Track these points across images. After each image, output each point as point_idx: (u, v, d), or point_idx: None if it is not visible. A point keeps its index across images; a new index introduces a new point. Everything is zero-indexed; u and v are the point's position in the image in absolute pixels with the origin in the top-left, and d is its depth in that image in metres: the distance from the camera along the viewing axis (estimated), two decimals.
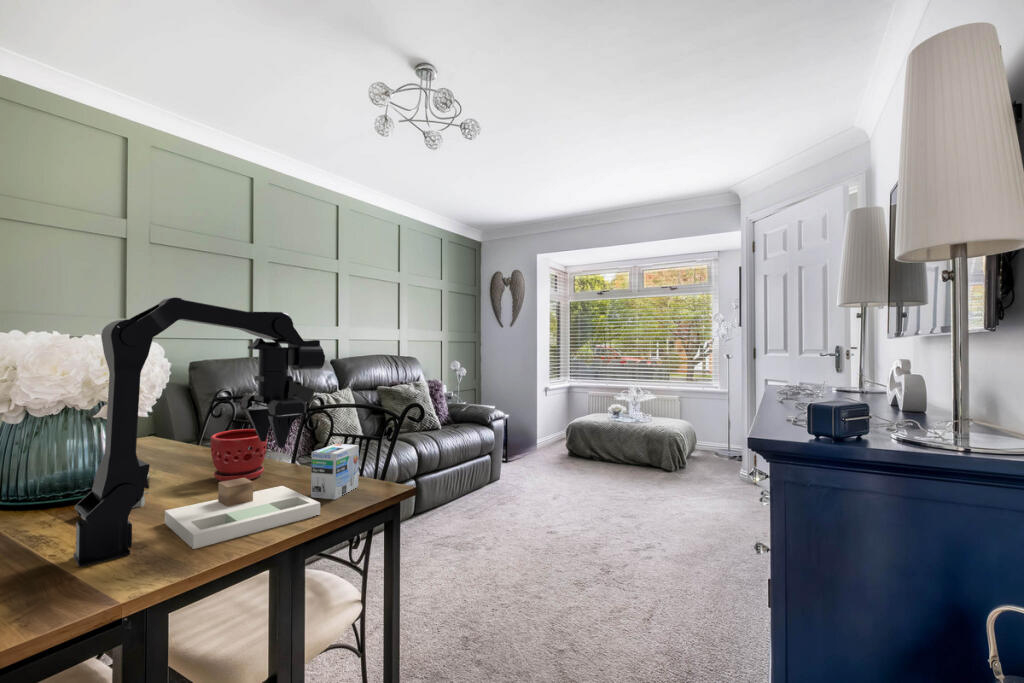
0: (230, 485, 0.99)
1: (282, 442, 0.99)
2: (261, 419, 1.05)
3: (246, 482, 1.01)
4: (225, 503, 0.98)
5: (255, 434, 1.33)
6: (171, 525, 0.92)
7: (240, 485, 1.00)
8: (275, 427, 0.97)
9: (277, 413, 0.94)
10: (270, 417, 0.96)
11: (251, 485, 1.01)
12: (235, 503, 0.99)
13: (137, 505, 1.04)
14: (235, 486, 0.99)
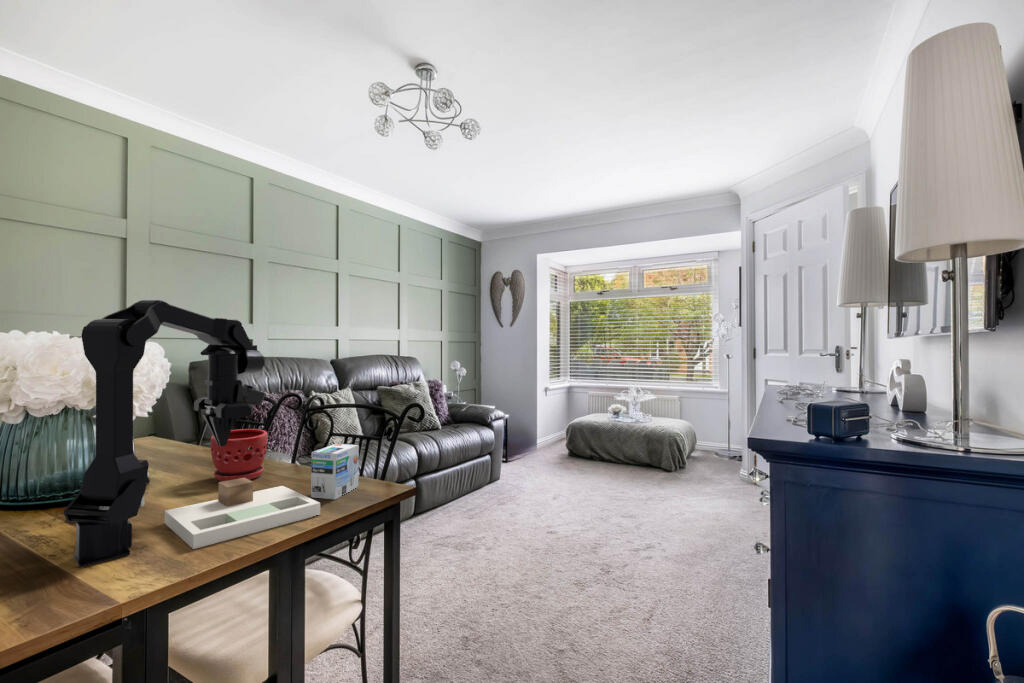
0: (230, 485, 0.99)
1: (224, 441, 1.06)
2: None
3: (246, 482, 1.01)
4: (225, 503, 0.98)
5: (255, 434, 1.33)
6: (171, 525, 0.92)
7: (240, 485, 1.00)
8: (216, 427, 1.04)
9: (223, 416, 0.99)
10: (211, 418, 1.03)
11: (251, 485, 1.01)
12: (235, 503, 0.99)
13: None
14: (235, 486, 0.99)
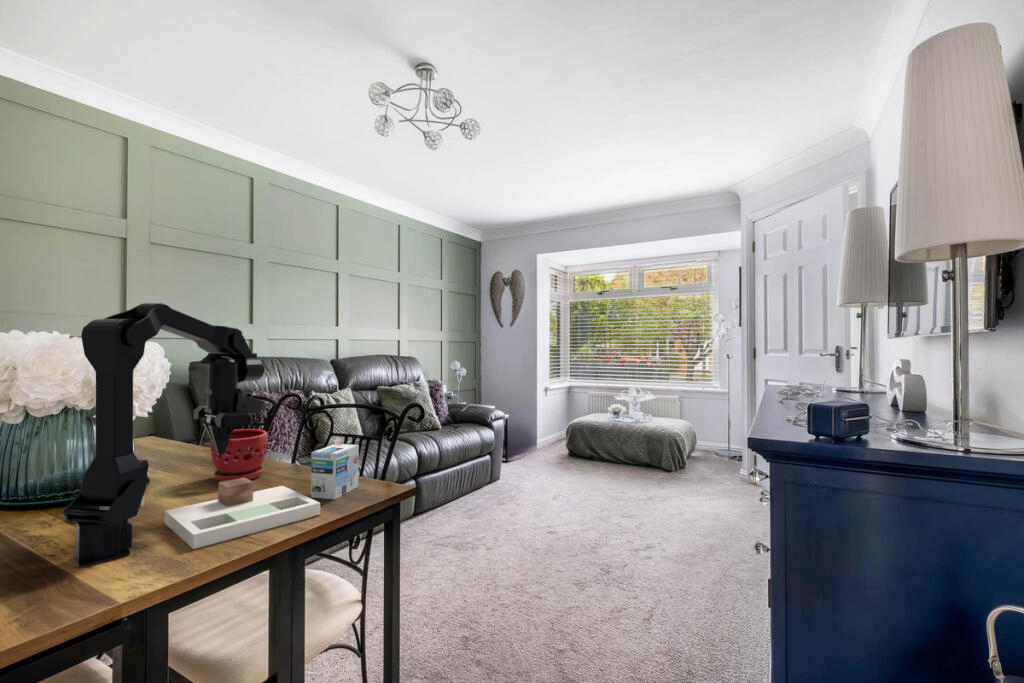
0: (230, 485, 0.99)
1: (223, 449, 1.06)
2: None
3: (246, 482, 1.01)
4: (225, 503, 0.98)
5: (255, 434, 1.33)
6: (171, 525, 0.92)
7: (240, 485, 1.00)
8: (215, 435, 1.04)
9: (223, 425, 0.99)
10: (210, 426, 1.03)
11: (251, 485, 1.01)
12: (235, 503, 0.99)
13: None
14: (235, 486, 0.99)
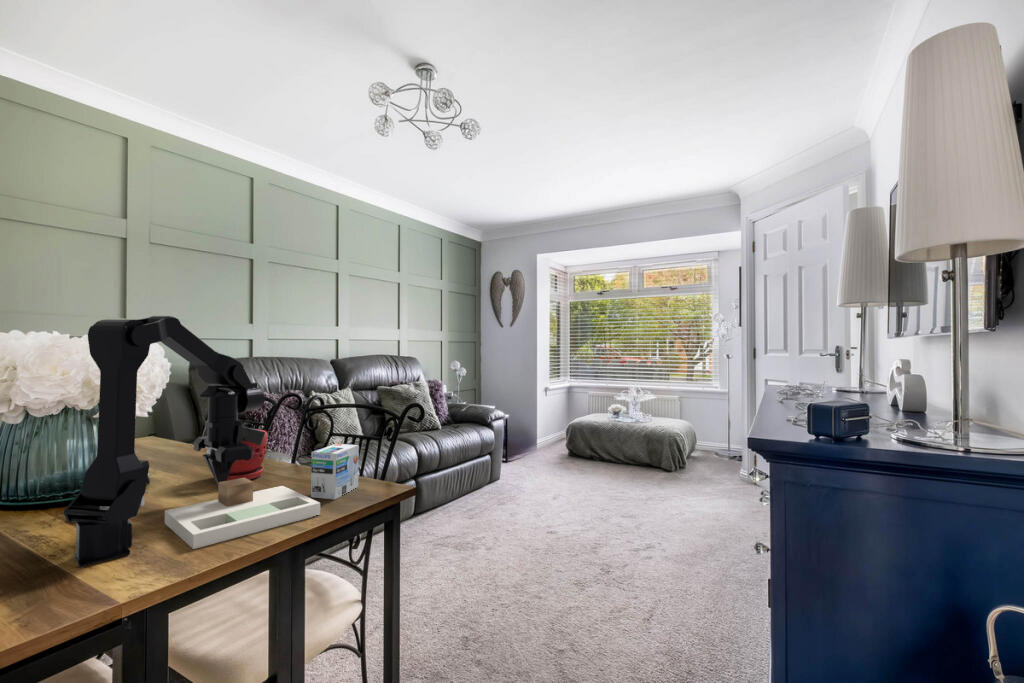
0: (230, 485, 0.99)
1: None
2: None
3: (246, 482, 1.01)
4: (225, 503, 0.98)
5: None
6: (171, 525, 0.92)
7: (240, 485, 1.00)
8: (215, 469, 1.04)
9: (223, 460, 0.98)
10: (210, 460, 1.03)
11: (251, 485, 1.01)
12: (235, 503, 0.99)
13: None
14: (235, 486, 0.99)
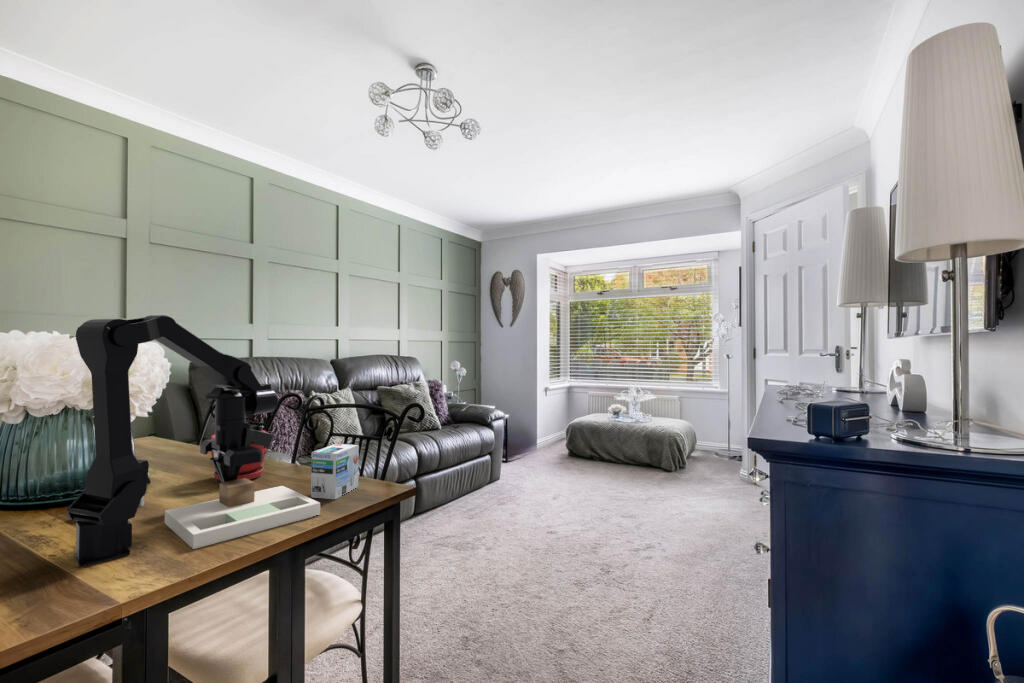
0: (231, 486, 0.98)
1: None
2: None
3: (247, 483, 1.01)
4: (226, 504, 0.98)
5: None
6: (171, 525, 0.92)
7: (241, 486, 0.99)
8: (223, 472, 1.01)
9: (232, 464, 0.95)
10: (218, 463, 1.00)
11: (252, 486, 1.01)
12: (236, 504, 0.98)
13: None
14: (236, 487, 0.98)
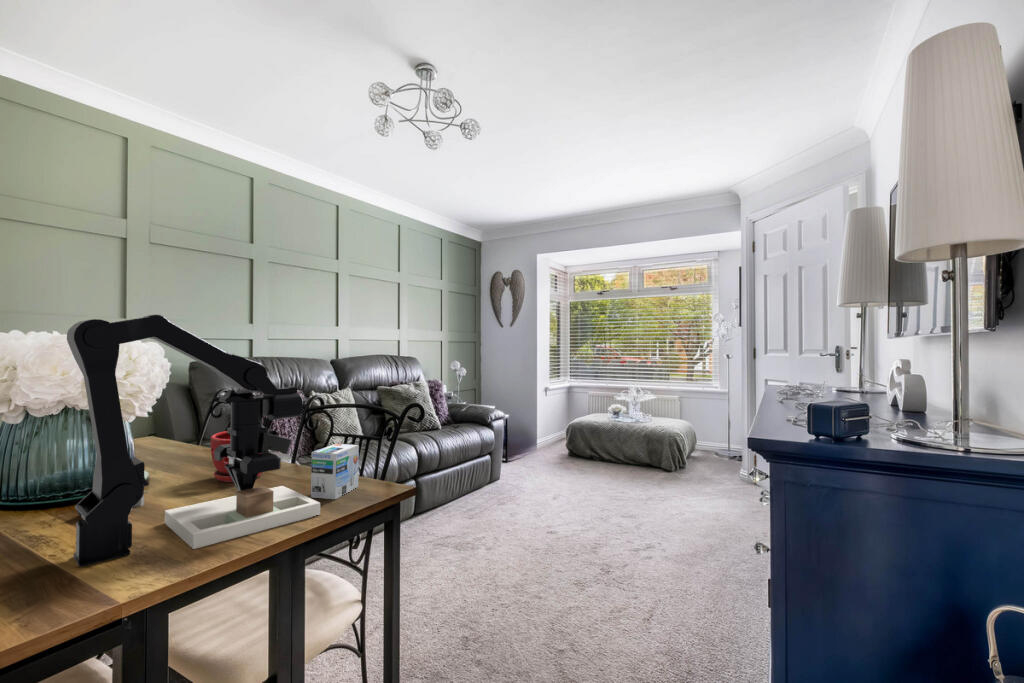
0: (249, 495, 0.93)
1: None
2: None
3: (266, 491, 0.95)
4: (244, 514, 0.92)
5: None
6: (171, 525, 0.92)
7: (260, 494, 0.93)
8: (239, 480, 0.95)
9: (249, 472, 0.90)
10: (233, 471, 0.94)
11: (271, 494, 0.95)
12: (255, 514, 0.93)
13: (137, 505, 1.05)
14: (255, 496, 0.93)
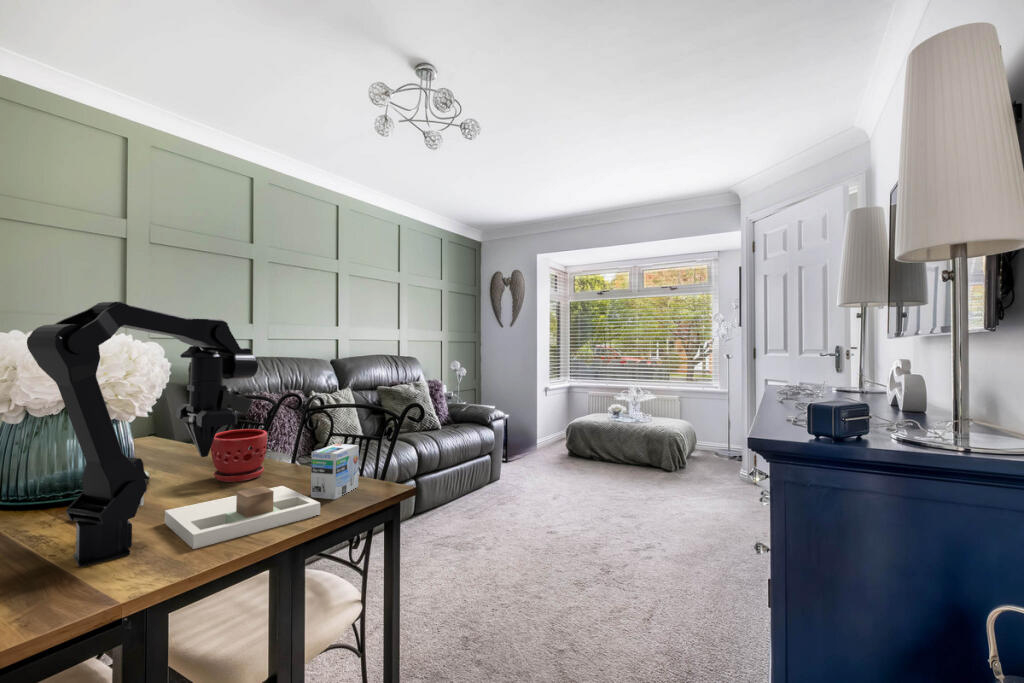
0: (249, 495, 0.93)
1: (206, 451, 0.98)
2: None
3: (266, 491, 0.95)
4: (244, 514, 0.92)
5: (255, 434, 1.33)
6: (171, 525, 0.92)
7: (260, 495, 0.93)
8: (196, 436, 0.95)
9: (203, 424, 0.90)
10: (191, 426, 0.95)
11: (271, 494, 0.95)
12: (255, 514, 0.93)
13: None
14: (255, 496, 0.93)
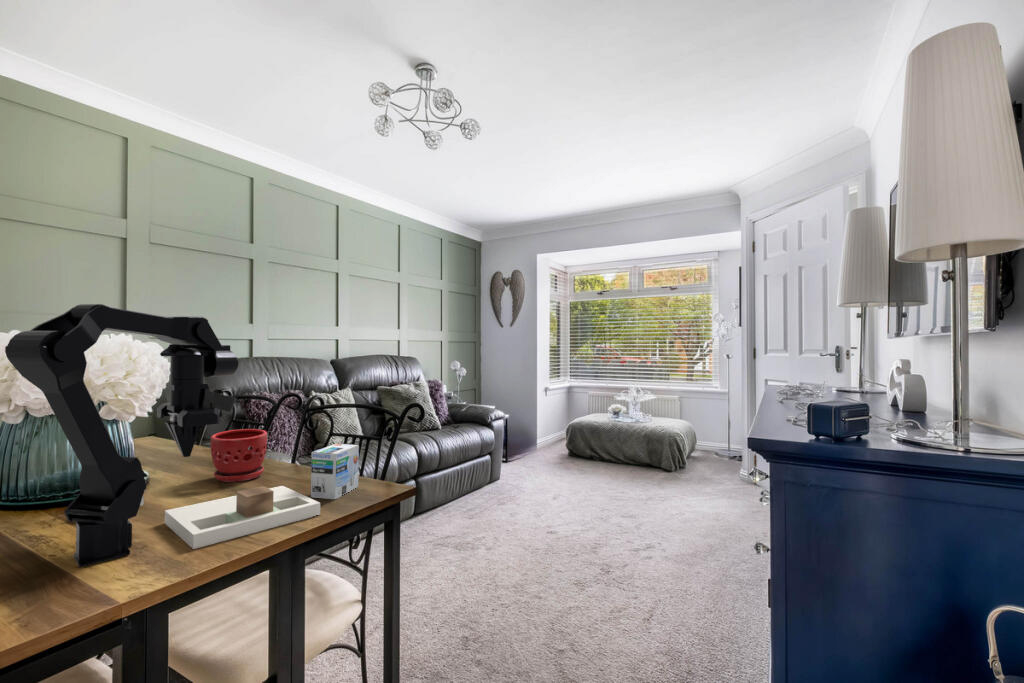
0: (249, 495, 0.93)
1: (188, 451, 0.96)
2: None
3: (266, 491, 0.95)
4: (244, 514, 0.92)
5: (255, 434, 1.33)
6: (171, 525, 0.92)
7: (260, 495, 0.93)
8: (178, 436, 0.94)
9: (184, 424, 0.88)
10: (172, 426, 0.93)
11: (271, 494, 0.95)
12: (255, 514, 0.93)
13: None
14: (255, 496, 0.93)
